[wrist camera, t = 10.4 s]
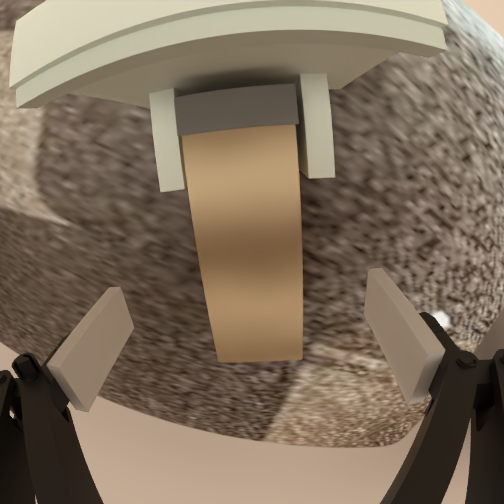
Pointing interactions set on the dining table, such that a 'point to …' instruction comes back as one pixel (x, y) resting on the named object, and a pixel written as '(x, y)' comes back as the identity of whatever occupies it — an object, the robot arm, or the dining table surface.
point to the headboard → (215, 57)
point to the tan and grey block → (247, 217)
